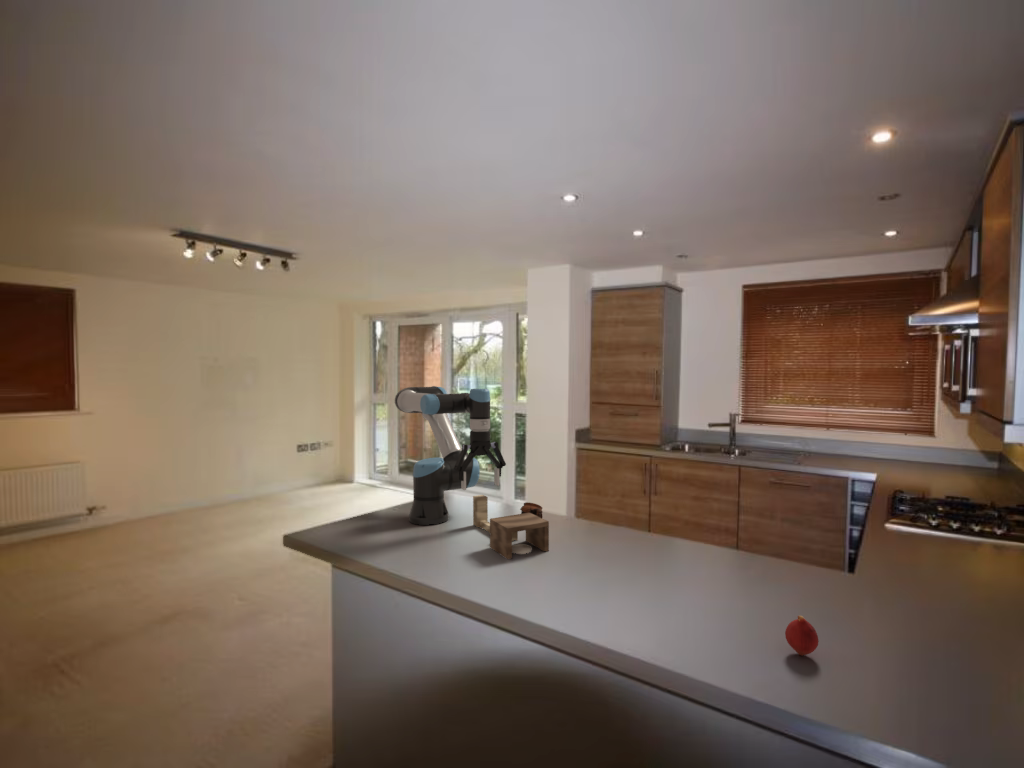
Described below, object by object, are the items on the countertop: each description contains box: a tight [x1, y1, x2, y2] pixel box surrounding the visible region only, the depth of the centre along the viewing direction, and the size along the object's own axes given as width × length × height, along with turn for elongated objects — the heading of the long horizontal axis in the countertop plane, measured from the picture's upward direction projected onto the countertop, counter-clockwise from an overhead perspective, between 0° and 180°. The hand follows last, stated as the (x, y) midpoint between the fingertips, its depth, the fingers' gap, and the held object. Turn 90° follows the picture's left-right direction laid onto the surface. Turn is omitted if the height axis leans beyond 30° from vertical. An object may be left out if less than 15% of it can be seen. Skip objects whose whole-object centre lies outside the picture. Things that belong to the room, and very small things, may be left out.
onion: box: [784, 615, 820, 656], centre depth 105 cm, size 6×6×8 cm
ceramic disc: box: [512, 543, 533, 555], centre depth 166 cm, size 7×7×1 cm
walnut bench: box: [489, 513, 550, 560], centre depth 167 cm, size 12×15×10 cm
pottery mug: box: [519, 502, 543, 519], centre depth 198 cm, size 12×10×8 cm
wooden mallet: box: [472, 494, 519, 542], centre depth 184 cm, size 23×8×11 cm, turn 29°
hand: (480, 487), depth 192 cm, fingers open, 13 cm apart
